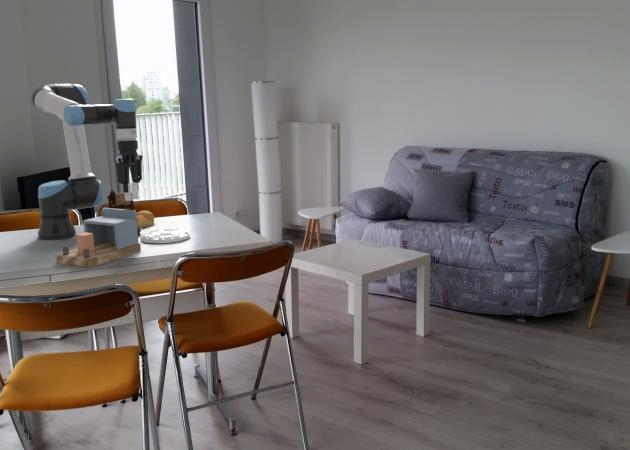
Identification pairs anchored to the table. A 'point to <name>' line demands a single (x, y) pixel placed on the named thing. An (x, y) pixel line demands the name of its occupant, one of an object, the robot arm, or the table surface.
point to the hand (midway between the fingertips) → (131, 199)
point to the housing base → (95, 254)
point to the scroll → (120, 203)
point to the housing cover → (114, 227)
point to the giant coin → (164, 235)
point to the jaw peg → (85, 242)
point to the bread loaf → (144, 218)
